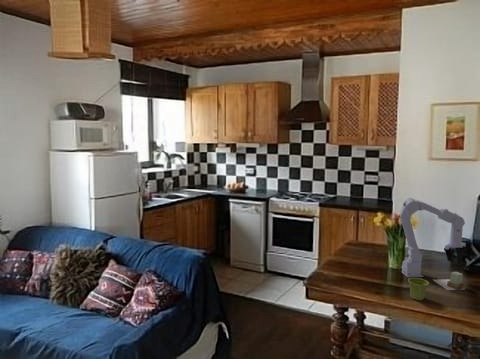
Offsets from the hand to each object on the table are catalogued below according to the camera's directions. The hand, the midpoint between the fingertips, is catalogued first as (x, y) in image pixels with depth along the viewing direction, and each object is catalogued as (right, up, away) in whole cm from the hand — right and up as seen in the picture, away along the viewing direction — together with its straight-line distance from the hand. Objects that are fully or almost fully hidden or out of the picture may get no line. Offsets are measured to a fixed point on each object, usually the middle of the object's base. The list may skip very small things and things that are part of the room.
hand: (454, 260), depth 223 cm
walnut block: (-6, -12, -13) cm, 18 cm away
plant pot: (-32, -14, -25) cm, 43 cm away
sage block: (-6, -9, -13) cm, 17 cm away
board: (-8, -12, -9) cm, 17 cm away
